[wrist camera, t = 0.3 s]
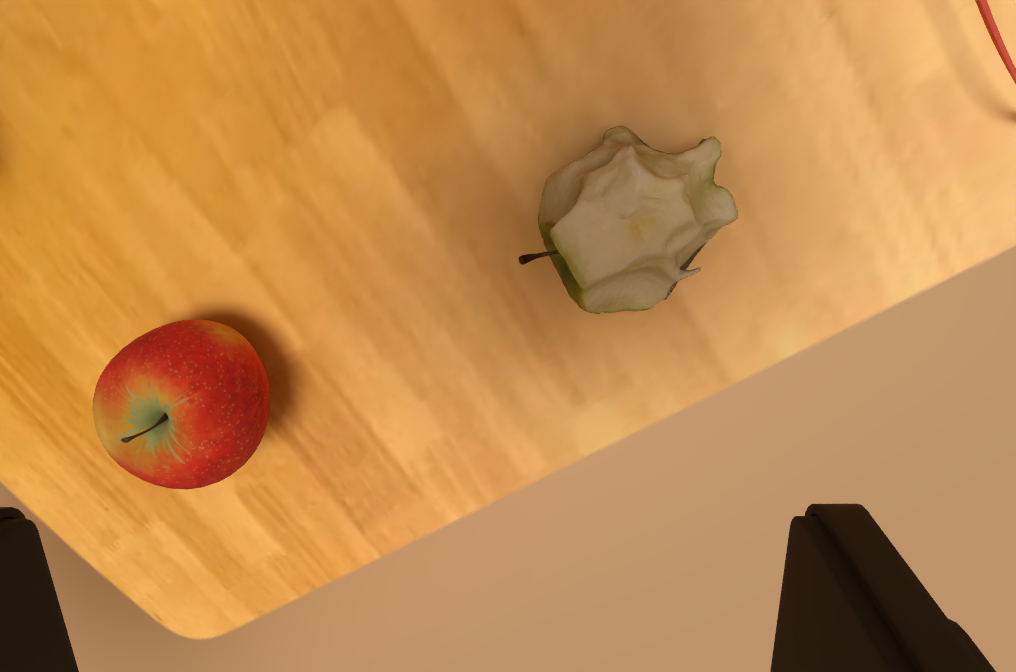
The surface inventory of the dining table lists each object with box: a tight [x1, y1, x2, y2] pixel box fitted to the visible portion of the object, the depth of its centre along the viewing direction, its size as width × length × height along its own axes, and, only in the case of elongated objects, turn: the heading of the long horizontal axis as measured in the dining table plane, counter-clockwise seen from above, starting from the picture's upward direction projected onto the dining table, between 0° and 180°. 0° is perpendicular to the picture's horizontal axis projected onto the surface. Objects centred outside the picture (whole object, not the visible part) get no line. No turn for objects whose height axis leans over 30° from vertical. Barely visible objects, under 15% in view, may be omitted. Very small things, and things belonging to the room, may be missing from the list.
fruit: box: [519, 126, 738, 314], centre depth 35 cm, size 9×9×8 cm
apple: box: [93, 319, 270, 489], centre depth 37 cm, size 8×8×10 cm
